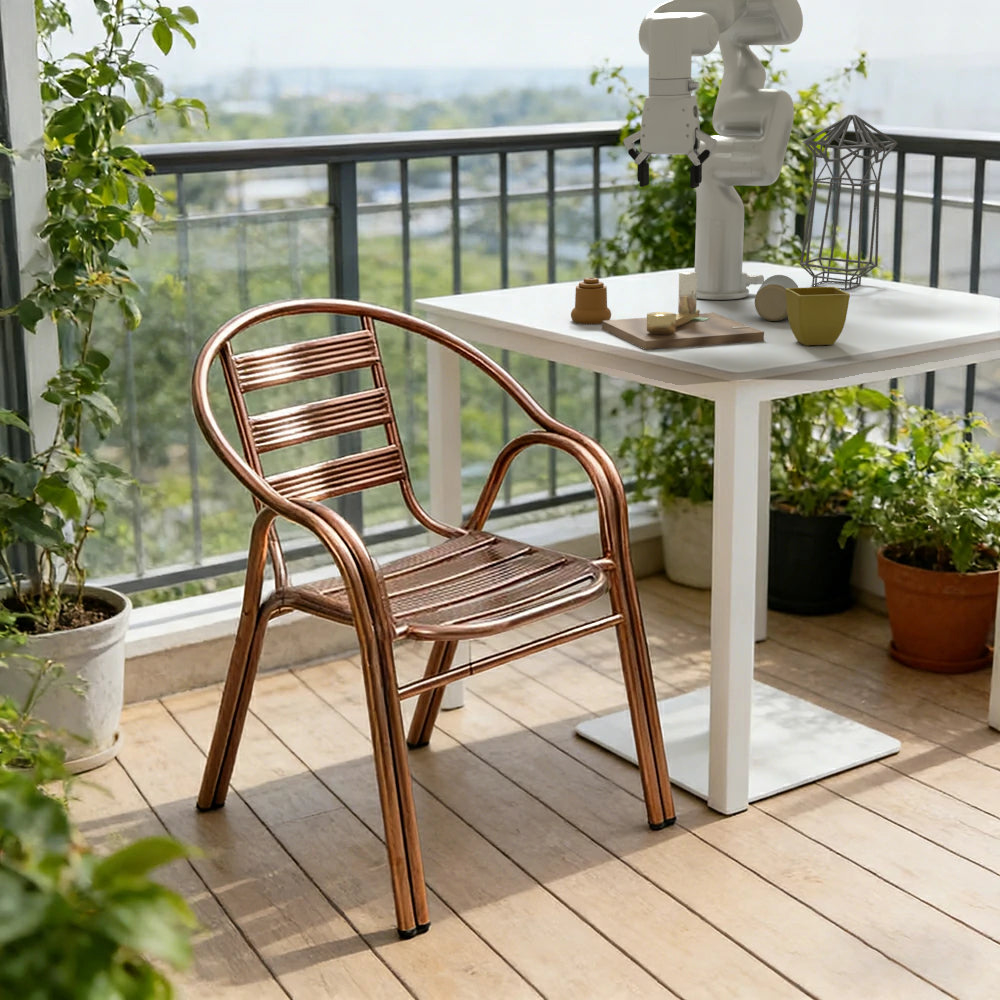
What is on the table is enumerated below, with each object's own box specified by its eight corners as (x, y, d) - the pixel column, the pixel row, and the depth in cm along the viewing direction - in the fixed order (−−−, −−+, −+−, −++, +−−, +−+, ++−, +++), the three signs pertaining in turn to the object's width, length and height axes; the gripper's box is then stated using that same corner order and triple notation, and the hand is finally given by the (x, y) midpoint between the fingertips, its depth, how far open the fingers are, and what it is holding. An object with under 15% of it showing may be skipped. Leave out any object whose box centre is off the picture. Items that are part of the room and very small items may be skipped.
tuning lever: (669, 334, 240) (670, 286, 237) (641, 332, 242) (642, 284, 239) (707, 317, 255) (708, 271, 252) (681, 314, 257) (682, 269, 254)
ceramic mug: (751, 321, 261) (754, 280, 258) (758, 314, 268) (760, 273, 266) (810, 325, 257) (813, 283, 255) (815, 317, 265) (818, 276, 262)
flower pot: (782, 339, 245) (784, 287, 242) (831, 337, 246) (834, 285, 243) (796, 349, 237) (799, 295, 234) (847, 347, 237) (851, 294, 234)
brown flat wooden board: (712, 320, 262) (713, 312, 261) (763, 340, 244) (764, 331, 243) (601, 328, 256) (601, 320, 255) (645, 349, 237) (645, 340, 237)
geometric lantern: (817, 278, 308) (831, 112, 297) (887, 286, 299) (904, 115, 289) (786, 287, 296) (799, 114, 285) (858, 295, 287) (874, 117, 276)
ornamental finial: (588, 326, 258) (562, 321, 264) (619, 321, 262) (593, 316, 268) (588, 282, 256) (562, 278, 262) (619, 278, 260) (593, 274, 266)
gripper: (723, 86, 251) (721, 185, 257) (631, 87, 258) (631, 182, 264) (710, 90, 245) (708, 190, 250) (616, 90, 252) (617, 188, 258)
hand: (669, 186), depth 257 cm, fingers open, 9 cm apart
